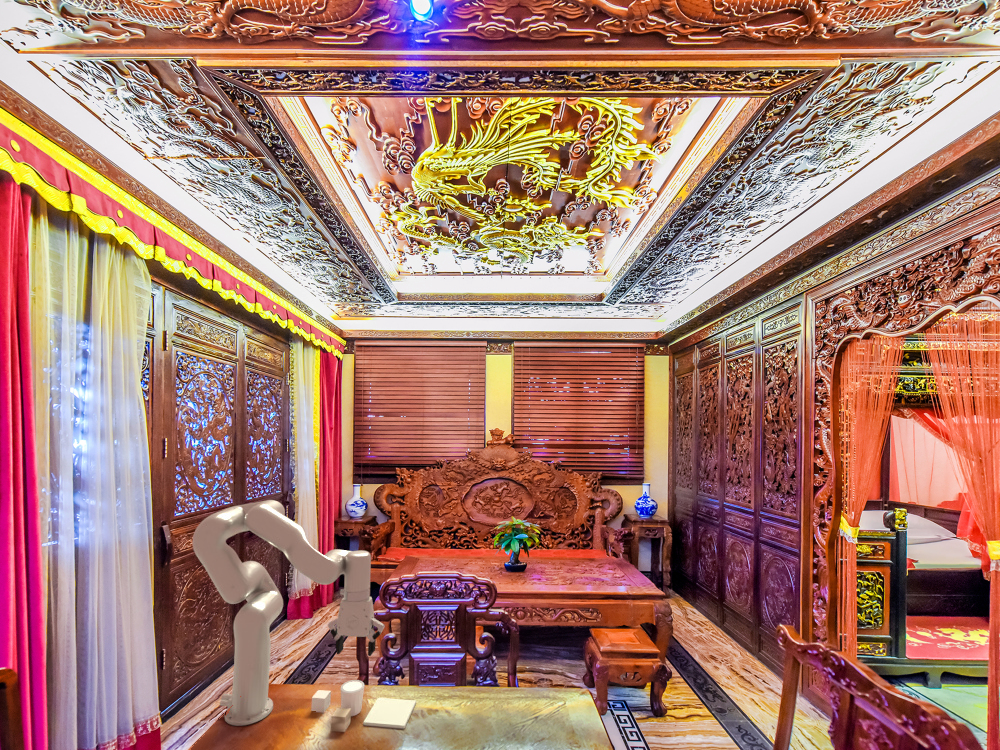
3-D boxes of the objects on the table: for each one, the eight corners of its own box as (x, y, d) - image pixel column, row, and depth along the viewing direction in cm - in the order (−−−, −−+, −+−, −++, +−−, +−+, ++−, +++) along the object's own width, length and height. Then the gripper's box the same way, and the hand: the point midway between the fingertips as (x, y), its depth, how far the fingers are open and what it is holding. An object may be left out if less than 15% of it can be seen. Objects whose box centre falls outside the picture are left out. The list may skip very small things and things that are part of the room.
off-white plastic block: (311, 711, 141) (311, 697, 142) (317, 703, 145) (318, 689, 146) (324, 712, 141) (324, 698, 141) (330, 704, 145) (330, 690, 145)
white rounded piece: (356, 719, 138) (357, 693, 139) (334, 715, 139) (336, 690, 140) (367, 705, 145) (368, 681, 145) (346, 702, 146) (347, 678, 147)
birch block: (330, 731, 133) (331, 716, 133) (336, 722, 137) (337, 707, 137) (344, 732, 132) (345, 717, 133) (350, 723, 136) (351, 708, 137)
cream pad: (363, 725, 136) (363, 722, 136) (378, 700, 147) (378, 697, 148) (404, 728, 134) (404, 725, 134) (416, 703, 146) (416, 700, 146)
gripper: (324, 597, 142) (322, 657, 141) (380, 600, 140) (379, 661, 139) (335, 588, 149) (333, 645, 148) (388, 590, 148) (387, 648, 146)
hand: (355, 653), depth 143 cm, fingers open, 9 cm apart
